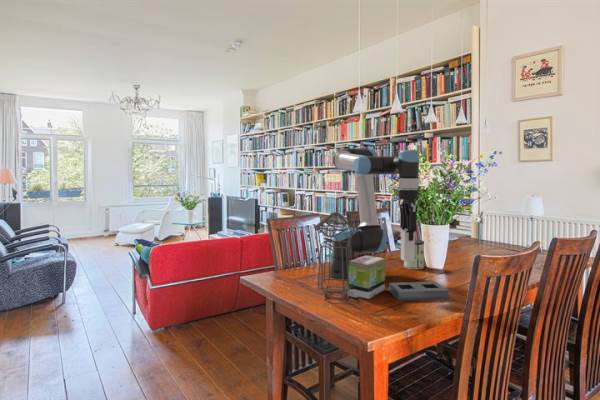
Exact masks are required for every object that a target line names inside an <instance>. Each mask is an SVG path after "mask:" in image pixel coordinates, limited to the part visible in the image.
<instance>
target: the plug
mask: <svg viewBox="0 0 600 400" xmlns="http://www.w3.org/2000/svg"><path fill="white" fill-rule="evenodd" d="M406 231H407V228H405V230H402V229H400V260H402V261H403V262H404V261H415V240H416V231H415V232H414V249H406Z"/></svg>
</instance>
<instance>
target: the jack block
mask: <svg viewBox="0 0 600 400" xmlns="http://www.w3.org/2000/svg"><path fill="white" fill-rule="evenodd" d="M388 291H389V293H390V294H391V295H392V296H393V297H394V298H395V299H396V300H397V301H398V302H401V301H404V302H406V301H430V300H431V301H433V300H437V301H438V300H449V297H450V296H449V289H447V288H446V287H444V285H441V284H440V283H439V282H437V281H412V282H411V281H409V282H407V281H405V282H404V281H403V282H389V283H388Z"/></svg>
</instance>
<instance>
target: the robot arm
mask: <svg viewBox="0 0 600 400" xmlns="http://www.w3.org/2000/svg"><path fill="white" fill-rule="evenodd" d="M419 156H420V155H419V150H417V149H401V150H400V151H399V153H398V156H396V155H395V156H393V155H392V156H390V155H389V156H387V155H386V156H384V155H383V156H382V155H381V156H379V155H378V152H377V151H376V150H375V149H373V148H368V147H361V148H354V147H353V148H351V147H349V148H348V147H345V148H341V149H338V150H337V151H336V152H335V153H334V154H333V156H332V164H333V166H334V167H335V168H336V169H338V170H341V171H344V172H345V171H347V172H352V176H353V177H355V178H356V180H355V181H356V190H357V200H358V210H359V211H358V213H359V222H360V223H359V225H358V226H357V228H356V227H355V229H354V232H353V234H352V239H351V249H352V260H354V259H357V254H358V255H359V254H376V253H381V252H383V251H384V250H385V248H386V246H387V240H388V239H387V238H388V236H387V232H386V230H385V229H383V228H382V225H381V224H380V223H379V222H378V216H377V204H376V203H377V201H376V195H375V194H376V193H375V186H374V185H375V184H374V175H391V176H392V175H393V176H396V175H398V199H399V200H402V203H399V213H400V214H399V216H400V217H399V220H400V223H399V228H400V229H401V230H405V228H407V231H406V249H414V232H415V233H416V232H417V224H418V222H417V221H418V217H417V216H418V206H417V205H415V200H418V199H419V190H418V189H419V184H420V180H419V173H420V172H419V170H420V169H419V167H420V157H419ZM345 228H346V227H345V226H344V229H345ZM339 229H343V227H340V228H339ZM348 229H350V228H348ZM352 231H353V228H352ZM340 232H342V231H336V232H335V233H334V235H336V234H338V233H340ZM345 233H346V235H347V236H346V235H345ZM345 233H344V232H343V233H341V234H339V235H337V236H336V238H337V240H338V241H348V239H349V238H351V237H350V230H346V231H345ZM347 237H348V238H347ZM337 240H336V239H335V237H332V238H331V242H332V261H331V262H330V278H331V277H332V278H333V279H342V251H341V248H333V247H340V245H339V243H340V244H341V246H342V247H346V246H347V243H348V242H339V243H338V242H333V241H337ZM347 257H348V247H347ZM350 261H351V253H350ZM343 270H344V280H348V278H347V262H346V248H343ZM348 272H349V258H348Z"/></svg>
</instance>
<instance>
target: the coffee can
mask: <svg viewBox="0 0 600 400" xmlns="http://www.w3.org/2000/svg"><path fill="white" fill-rule="evenodd" d="M424 256H425V241H424V240H421V239H415V261H403V267H404V268H406V269H410V270H422V269H424V266H425V263H424V262H425V261H424V259H425V257H424Z"/></svg>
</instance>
